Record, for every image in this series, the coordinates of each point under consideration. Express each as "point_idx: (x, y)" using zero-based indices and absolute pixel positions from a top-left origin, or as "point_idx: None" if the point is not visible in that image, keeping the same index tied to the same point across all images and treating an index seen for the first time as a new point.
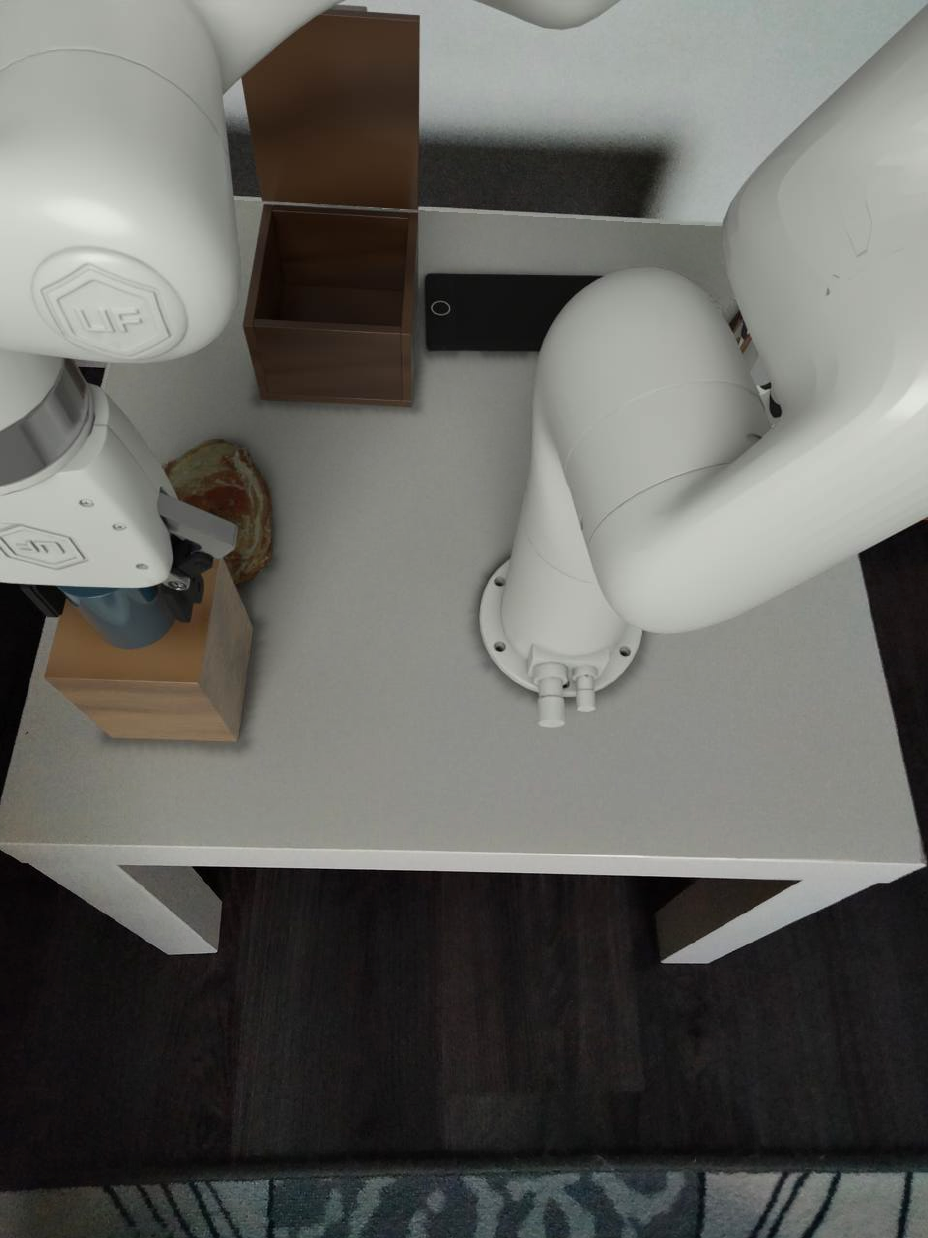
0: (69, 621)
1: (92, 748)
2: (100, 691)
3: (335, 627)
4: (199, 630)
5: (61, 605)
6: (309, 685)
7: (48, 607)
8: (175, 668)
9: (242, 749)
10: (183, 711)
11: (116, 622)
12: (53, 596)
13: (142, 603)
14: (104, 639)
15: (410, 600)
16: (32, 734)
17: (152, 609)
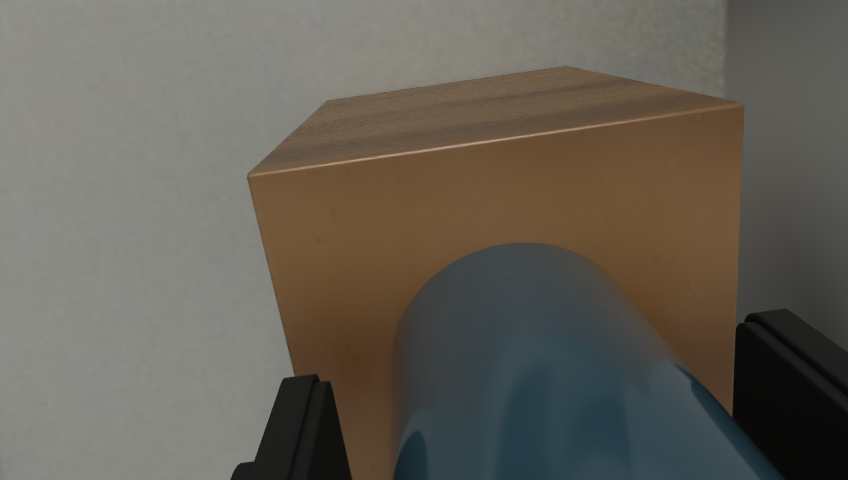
0: (702, 295)
1: (598, 38)
2: (569, 109)
3: (222, 345)
4: (309, 338)
5: (746, 358)
6: (230, 233)
7: (802, 355)
8: (337, 210)
9: (312, 87)
10: (378, 116)
11: (510, 352)
12: (792, 402)
13: (411, 458)
14: (578, 262)
15: (109, 415)
16: (719, 45)
17: (400, 416)
